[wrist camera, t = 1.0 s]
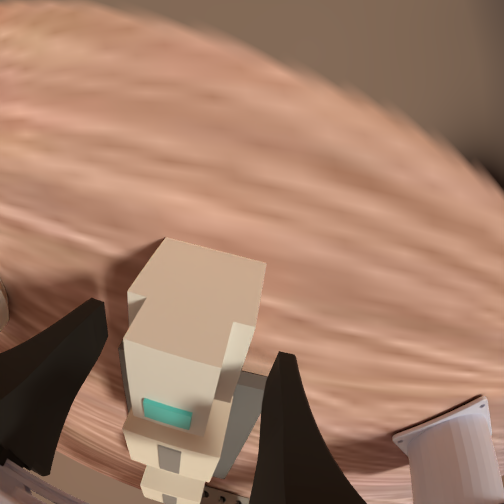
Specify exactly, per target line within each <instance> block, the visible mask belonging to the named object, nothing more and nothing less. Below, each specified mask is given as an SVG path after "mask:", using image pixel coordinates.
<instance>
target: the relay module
mask: <svg viewBox="0 0 504 504" xmlns="http://www.w3.org/2000/svg"><path fill="white" fill-rule="evenodd" d="M266 264H267V263H264V262H261V261H257V260H253V259H249V258H245V257H241V256H237V255H233V254H230V253H226V252H222V251H218V250H214V249H210V248H206V247H203V246H199V245H195V244H191V243H187V242H183V241H180V240H176V239H172V238H168V237H166V238H165V239H164V240H163V242H162V243H161V244H160V246H159V247H158V248H157V250H156V251H155V253H154V254H153V255H152V257H151V258H150V260H149V261H148V262H147V264H146V265H145V267H144V268H143V269H142V271H141V272H140V274H139V275H138V276H137V278H136V279H135V281H134V282H133V284H132V285H131V287H130V288H129V289H128V291H127V296H128V318H129V329H128V331H127V332H126V334H125V336H124V338H123V343H124V352H125V361H126V369H127V377H128V384H129V391H130V398H131V404H132V410H133V415H134V416H136V417H139V418H142V419H145V420H148V421H151V422H154V423H157V424H160V425H163V426H166V427H170V428H173V429H176V430H180V431H183V432H187V433H190V434H194V435H198V436H202V437H204V434H205V430H206V426H207V422H208V419H209V415H210V411H211V407H212V403H213V399H215V400H219V401H223V402H227V403H230V402H231V399H232V396H233V393H234V391H235V388H236V385H237V382H238V379H239V376H240V373H241V370H242V367H243V364H244V361H245V358H246V355H247V352H248V349H249V346H250V343H251V340H252V337H253V334H254V331H255V327H256V322H257V316H258V311H259V305H260V299H261V293H262V287H263V282H264V276H265V270H266Z"/></svg>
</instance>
